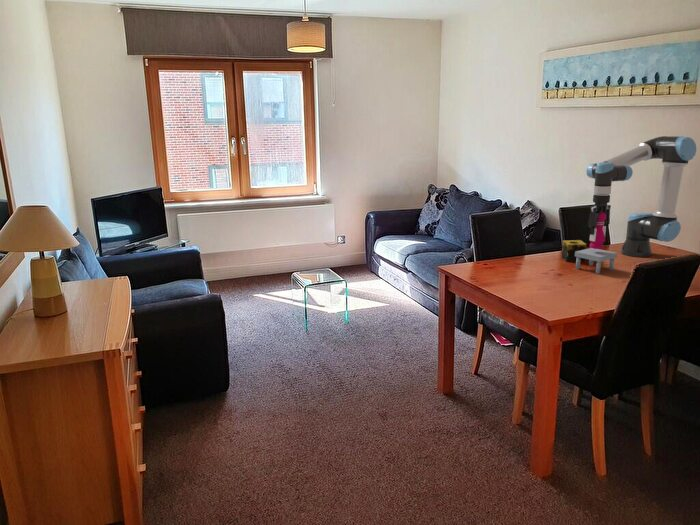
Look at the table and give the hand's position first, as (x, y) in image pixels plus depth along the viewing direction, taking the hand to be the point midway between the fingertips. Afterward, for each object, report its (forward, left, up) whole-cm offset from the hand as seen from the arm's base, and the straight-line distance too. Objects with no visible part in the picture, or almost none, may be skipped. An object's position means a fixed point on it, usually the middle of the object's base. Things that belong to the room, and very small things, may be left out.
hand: (597, 239), depth 260 cm
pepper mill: (0, 0, -4) cm, 4 cm away
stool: (0, 0, -16) cm, 16 cm away
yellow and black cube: (-8, -18, -16) cm, 25 cm away
